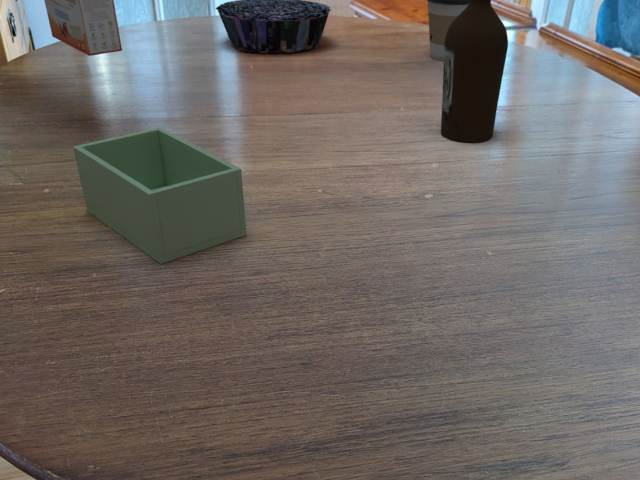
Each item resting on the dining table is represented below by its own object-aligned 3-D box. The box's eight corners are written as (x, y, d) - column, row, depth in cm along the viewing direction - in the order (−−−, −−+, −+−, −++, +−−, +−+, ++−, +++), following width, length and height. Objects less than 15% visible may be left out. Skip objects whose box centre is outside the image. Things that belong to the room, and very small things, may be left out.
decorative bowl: (222, 40, 187) (215, -3, 181) (327, 31, 191) (324, -11, 185) (222, 65, 167) (215, 19, 161) (340, 55, 171) (337, 9, 165)
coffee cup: (421, 50, 179) (426, -18, 170) (467, 52, 179) (474, -16, 170) (422, 62, 170) (426, -9, 161) (470, 64, 170) (477, -7, 161)
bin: (160, 264, 88) (149, 194, 83) (87, 211, 99) (72, 146, 94) (246, 235, 95) (241, 168, 90) (169, 188, 106) (160, 127, 101)
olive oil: (492, 125, 135) (511, -27, 120) (499, 145, 126) (521, -16, 111) (435, 123, 135) (447, -29, 120) (439, 143, 126) (452, -18, 111)
